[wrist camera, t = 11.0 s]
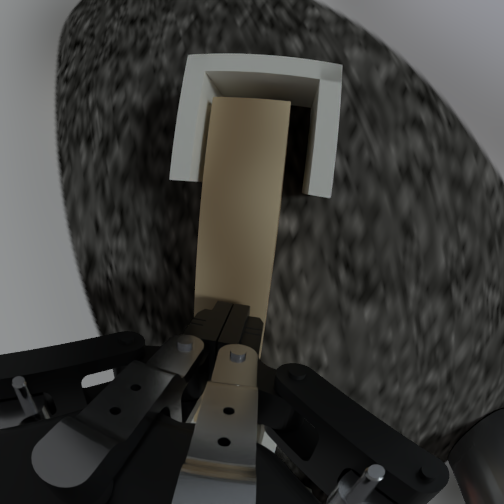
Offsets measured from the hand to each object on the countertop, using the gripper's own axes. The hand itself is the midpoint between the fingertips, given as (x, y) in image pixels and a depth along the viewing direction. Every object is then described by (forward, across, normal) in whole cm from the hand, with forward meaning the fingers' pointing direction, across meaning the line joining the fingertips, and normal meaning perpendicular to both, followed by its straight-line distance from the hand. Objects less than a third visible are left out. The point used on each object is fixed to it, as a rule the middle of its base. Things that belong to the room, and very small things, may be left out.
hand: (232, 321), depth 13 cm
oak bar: (+4, 0, -1) cm, 5 cm away
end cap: (+4, 0, -9) cm, 10 cm away
